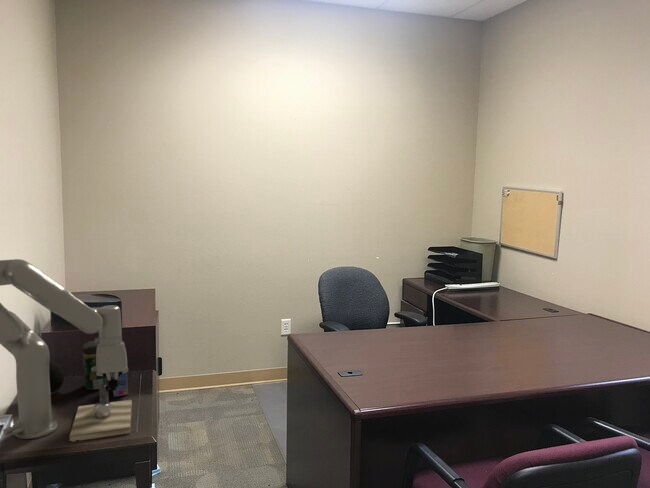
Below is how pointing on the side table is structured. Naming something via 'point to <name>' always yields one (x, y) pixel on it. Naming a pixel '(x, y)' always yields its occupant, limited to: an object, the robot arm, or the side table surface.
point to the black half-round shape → (55, 381)
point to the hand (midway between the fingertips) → (113, 389)
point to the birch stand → (102, 421)
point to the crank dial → (103, 403)
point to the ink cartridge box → (121, 385)
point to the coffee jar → (91, 367)
